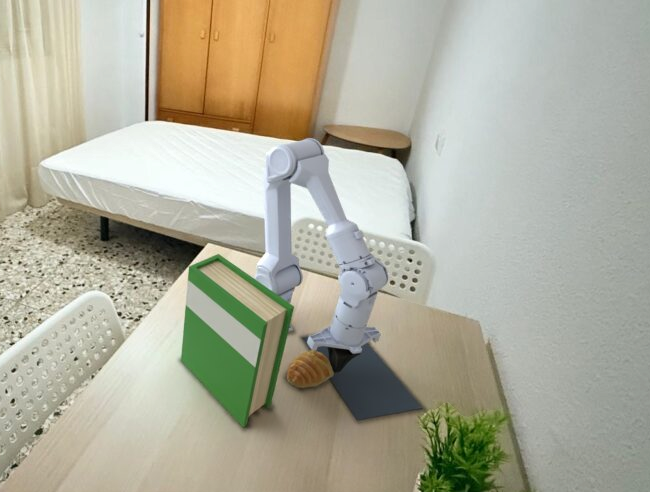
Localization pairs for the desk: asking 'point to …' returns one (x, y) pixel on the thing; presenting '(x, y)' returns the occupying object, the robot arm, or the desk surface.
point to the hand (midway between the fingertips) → (334, 368)
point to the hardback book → (234, 335)
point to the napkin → (370, 386)
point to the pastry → (309, 370)
